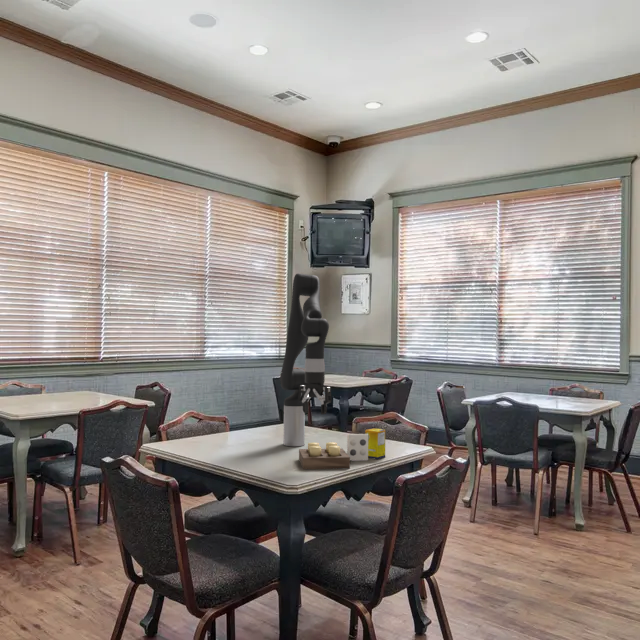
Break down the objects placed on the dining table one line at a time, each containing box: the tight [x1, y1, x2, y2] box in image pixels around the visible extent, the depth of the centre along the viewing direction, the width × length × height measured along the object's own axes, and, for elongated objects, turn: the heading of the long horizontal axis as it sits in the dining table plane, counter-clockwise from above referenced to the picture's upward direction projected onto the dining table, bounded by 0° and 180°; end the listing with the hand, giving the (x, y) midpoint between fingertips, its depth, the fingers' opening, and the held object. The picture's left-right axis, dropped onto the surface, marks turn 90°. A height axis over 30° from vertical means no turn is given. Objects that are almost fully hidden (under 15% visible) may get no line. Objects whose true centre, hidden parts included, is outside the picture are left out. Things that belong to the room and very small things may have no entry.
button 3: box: [325, 441, 338, 453], centre depth 230 cm, size 4×4×3 cm
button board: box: [298, 448, 351, 470], centre depth 226 cm, size 17×17×4 cm
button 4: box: [329, 445, 341, 456], centre depth 223 cm, size 4×4×3 cm
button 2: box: [310, 445, 322, 457], centre depth 223 cm, size 4×4×3 cm
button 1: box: [307, 442, 320, 453], centre depth 230 cm, size 4×4×3 cm
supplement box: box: [364, 427, 386, 460], centre depth 240 cm, size 6×6×11 cm
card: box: [346, 433, 369, 461], centre depth 234 cm, size 1×8×10 cm, turn 97°
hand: (314, 413), depth 230 cm, fingers open, 8 cm apart
